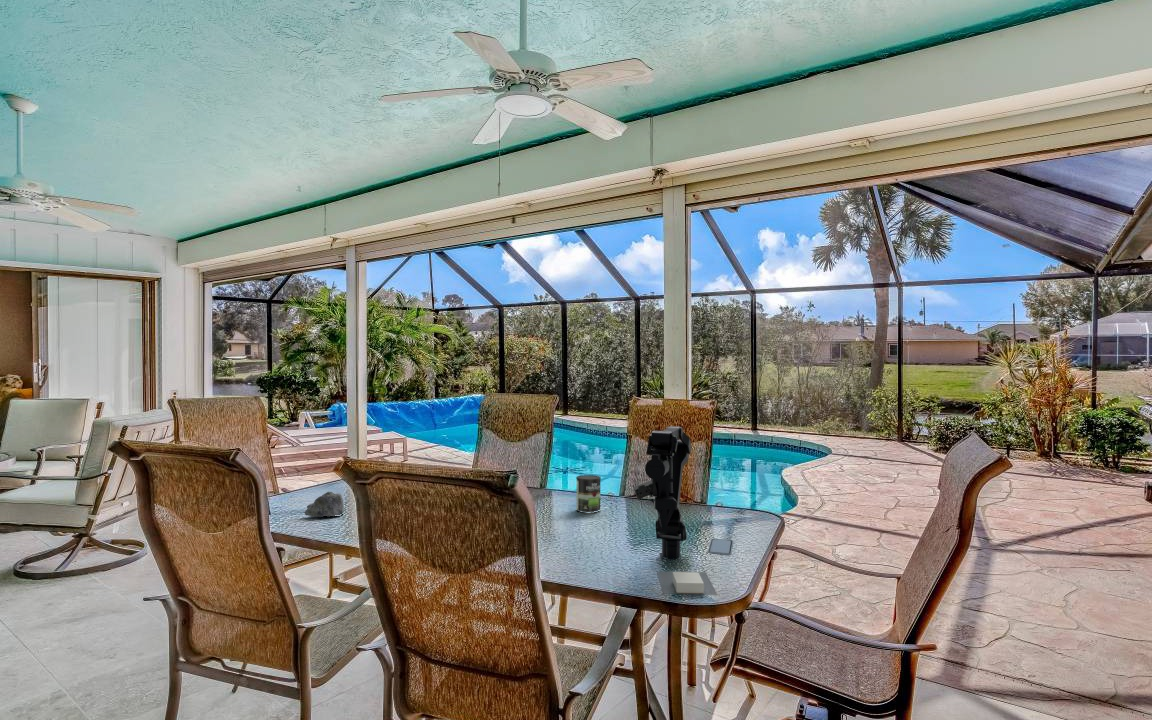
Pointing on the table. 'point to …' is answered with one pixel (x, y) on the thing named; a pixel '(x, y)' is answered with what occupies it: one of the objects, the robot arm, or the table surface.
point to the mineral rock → (326, 505)
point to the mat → (669, 587)
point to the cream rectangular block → (688, 582)
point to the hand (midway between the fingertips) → (662, 526)
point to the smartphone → (720, 546)
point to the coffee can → (588, 493)
